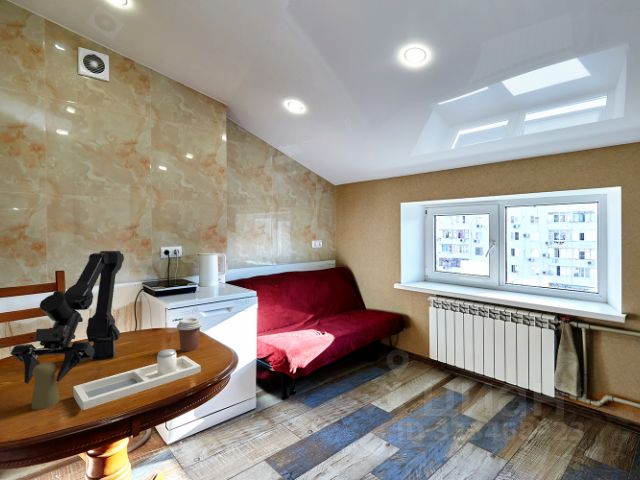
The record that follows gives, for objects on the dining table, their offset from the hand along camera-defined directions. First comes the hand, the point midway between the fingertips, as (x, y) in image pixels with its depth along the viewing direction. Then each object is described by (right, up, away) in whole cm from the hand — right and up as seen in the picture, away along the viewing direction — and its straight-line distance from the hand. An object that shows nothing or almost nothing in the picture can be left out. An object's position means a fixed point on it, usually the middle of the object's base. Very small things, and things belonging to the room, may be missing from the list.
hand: (41, 382), depth 90 cm
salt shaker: (+25, -5, +18) cm, 32 cm away
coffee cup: (+24, -5, +41) cm, 48 cm away
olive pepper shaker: (0, -7, +2) cm, 7 cm away
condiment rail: (+20, -6, +13) cm, 24 cm away
